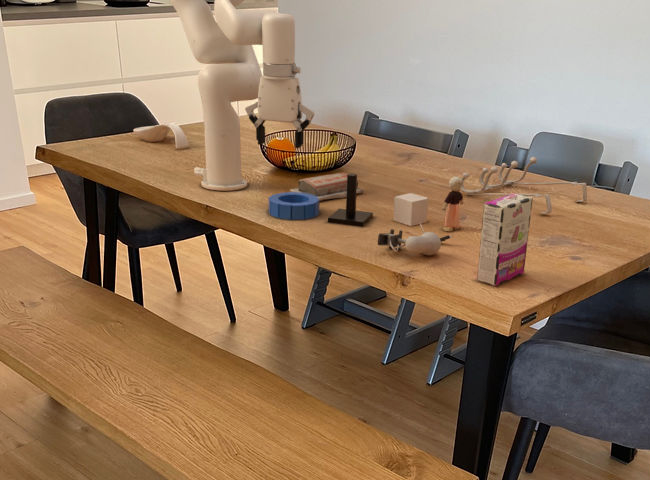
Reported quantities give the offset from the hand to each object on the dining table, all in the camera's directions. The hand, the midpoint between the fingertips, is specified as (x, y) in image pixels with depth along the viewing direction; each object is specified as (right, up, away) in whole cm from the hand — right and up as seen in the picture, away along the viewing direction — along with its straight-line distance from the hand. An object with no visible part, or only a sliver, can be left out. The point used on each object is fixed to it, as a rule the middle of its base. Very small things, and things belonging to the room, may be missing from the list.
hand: (279, 145), depth 201 cm
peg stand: (+17, -18, +3) cm, 25 cm away
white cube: (+32, -18, +4) cm, 37 cm away
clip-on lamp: (+32, -29, -16) cm, 46 cm away
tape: (+3, -15, +6) cm, 17 cm away
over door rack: (+65, -7, +27) cm, 71 cm away
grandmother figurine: (+42, -21, 0) cm, 47 cm away
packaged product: (+10, -7, +23) cm, 26 cm away
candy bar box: (+49, -37, -30) cm, 68 cm away
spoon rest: (-46, +22, +73) cm, 89 cm away
